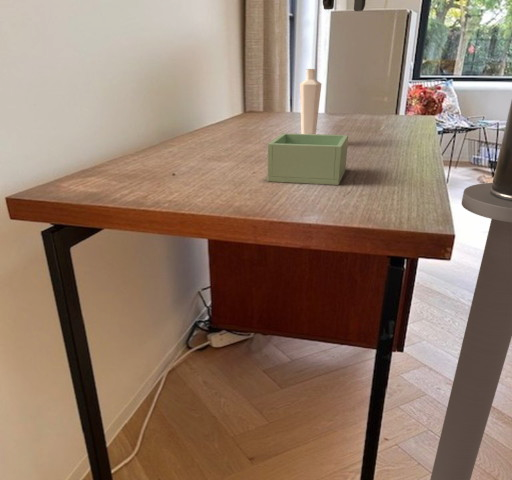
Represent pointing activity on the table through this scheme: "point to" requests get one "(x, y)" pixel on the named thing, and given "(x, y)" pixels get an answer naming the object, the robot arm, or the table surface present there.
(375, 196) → the table surface
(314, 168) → the bin
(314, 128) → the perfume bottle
